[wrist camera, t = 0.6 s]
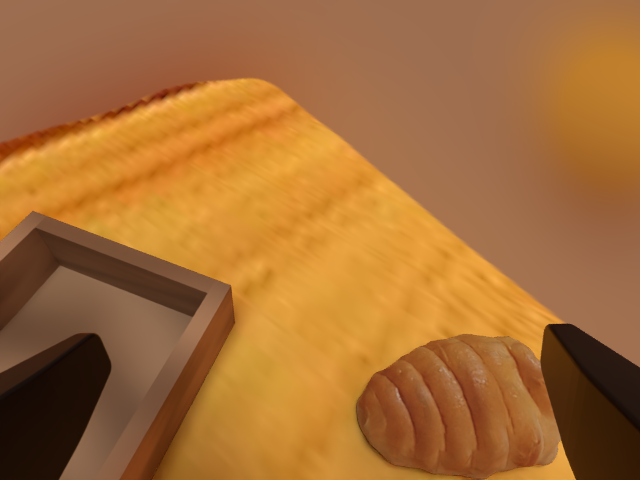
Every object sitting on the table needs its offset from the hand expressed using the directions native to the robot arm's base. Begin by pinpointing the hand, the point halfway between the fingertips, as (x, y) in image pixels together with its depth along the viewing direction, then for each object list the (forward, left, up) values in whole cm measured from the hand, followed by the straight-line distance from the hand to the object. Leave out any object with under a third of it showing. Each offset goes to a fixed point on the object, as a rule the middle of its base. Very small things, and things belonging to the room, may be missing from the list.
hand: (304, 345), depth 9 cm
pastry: (+6, -8, -14) cm, 17 cm away
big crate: (0, +11, -14) cm, 18 cm away
